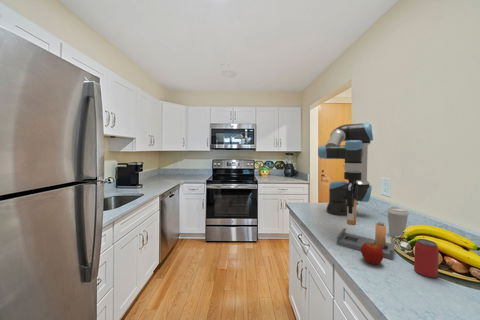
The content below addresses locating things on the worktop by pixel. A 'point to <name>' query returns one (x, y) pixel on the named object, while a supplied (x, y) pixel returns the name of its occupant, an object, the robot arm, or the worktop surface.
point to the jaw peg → (353, 222)
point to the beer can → (426, 258)
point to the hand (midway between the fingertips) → (351, 218)
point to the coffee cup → (397, 220)
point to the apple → (372, 253)
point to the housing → (368, 240)
